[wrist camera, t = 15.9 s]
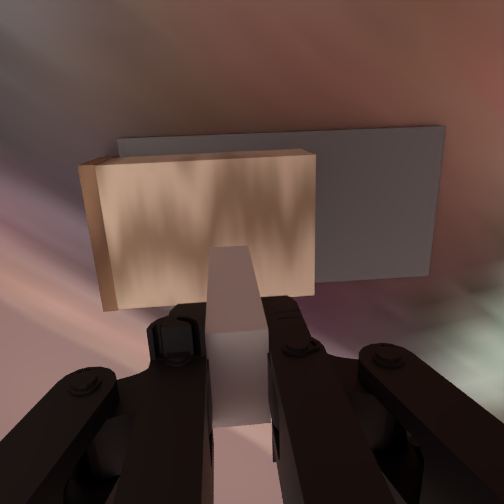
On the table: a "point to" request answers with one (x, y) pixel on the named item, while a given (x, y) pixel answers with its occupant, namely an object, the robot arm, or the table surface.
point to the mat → (349, 192)
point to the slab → (199, 222)
